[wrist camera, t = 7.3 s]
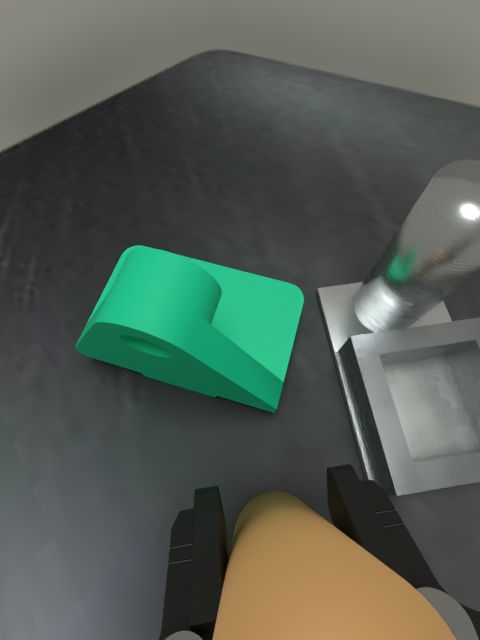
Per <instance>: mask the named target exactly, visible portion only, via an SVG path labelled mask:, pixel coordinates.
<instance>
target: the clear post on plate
mask: <svg viewBox="0 0 480 640" xmlns="http://www.w3.org/2000/svg"><path fill="white" fill-rule="evenodd" d="M479 271H480V161H479V160H461V161H456V162H453V163H450V164H448V165H446V166H444V167H442V168H441V169H440V170H439V171H438V172H437V173H436V174H435V175H434V177H433V178H432V180H431V181H430V183H429V184H428V186H427V187H426V189H425V190H424V192H423V193H422V195H421V196H420V198H419V199H418V201H417V202H416V204H415V205H414V207H413V208H412V210H411V211H410V213H409V214H408V216H407V217H406V219H405V220H404V222H403V223H402V225H401V226H400V228H399V229H398V231H397V232H396V234H395V235H394V237H393V238H392V240H391V241H390V243H389V244H388V246H387V247H386V249H385V250H384V252H383V253H382V255H381V256H380V258H379V259H378V261H377V262H376V264H375V265H374V266H373V268H372V269H371V271H370V272H369V274H368V275H367V277H366V278H365V280H364V281H363V282H360V283H353V284H346V285H338V286H331V287H323V288H318V289H317V291H316V295H317V299H318V302H319V306H320V310H321V314H322V318H323V321H324V325H325V329H326V333H327V337H328V340H329V344H330V348H331V352H332V356H333V359H334V363H335V367H336V371H337V375H338V378H339V382H340V386H341V390H342V394H343V397H344V401H345V405H346V409H347V413H348V416H349V420H350V424H351V428H352V432H353V435H354V439H355V443H356V447H357V451H358V454H359V458H360V462H361V466H362V470H363V473H364V477H365V480H370V479H372V480H373V481H374V482H375V483H376V484H377V485H378V486H379V487H381V488H382V489H383V490H384V491H385V492H386V493H387V494H391V495H395V496H399V495H405V494H411V493H417V492H423V491H428V490H434V489H440V488H446V487H452V486H458V485H464V484H470V483H476V482H480V318H474V319H467V320H460V321H453V322H452V321H451V318H450V316H449V313H448V311H447V309H446V306H445V304H444V302H443V300H444V299H445V298H446V297H448V296H449V295H450V294H451V293H453V292H454V291H455V290H456V289H458V288H459V287H460V286H461V285H463V284H464V283H465V282H466V281H467V280H469V279H470V278H471V277H472V276H474V275H475V274H476V273H477V272H479Z"/></svg>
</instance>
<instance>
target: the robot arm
mask: <svg viewBox="0 0 480 640" xmlns="http://www.w3.org/2000/svg"><path fill="white" fill-rule="evenodd" d="M327 490H328V505H329V511H330V515H331V518H332V521H333V524H334V526H335V527H336V528H337V529H339V530H340V531H341V532H342V533H344V534H345V535H346V536H348V537H349V538H350V539H352V540H353V541H354V542H356V543H357V544H358V545H360V546H361V547H362V548H364V549H365V550H366V551H368V552H369V553H370V554H372V555H373V556H374V557H375V558H377V559H378V560H379V561H381V562H382V563H383V564H385V565H386V566H387V567H389V568H390V569H391V570H393V571H394V572H395V573H397V574H398V575H399V576H401V577H402V578H403V579H405V580H406V581H407V582H408V583H409V584H410V585H412V586H413V587H414V588H415V589H416V590H417V591H418V592H420V593H421V594H422V595H423V596H424V597H425V599H426V600H427V601H428V602H429V603H430V604H431V605H432V606H433V607H434V608H435V609H436V611H437V612H438V613H439V615H440V616H441V618H442V619H443V620H444V622H445V623H446V624H447V626H448V627H449V628H450V630H451V632H452V633H453V635H454V637H455V638H456V640H480V612H478V611H475V610H472V609H470V608H468V607H466V606H464V605H462V604H460V603H459V602H457V601H456V600H455V599H453V598H452V597H451V596H450V595H449V594H448V593H447V592H446V591H445V590H444V589H443V588H442V587H441V586H440V585H439V583H438V582H437V580H436V579H435V577H434V575H433V573H432V572H431V570H430V568H429V567H428V565H427V563H426V561H425V560H424V558H423V556H422V554H421V553H420V551H419V549H418V547H417V546H416V544H415V542H414V540H413V539H412V537H411V535H410V533H409V532H408V530H407V528H406V527H405V525H404V524H403V521H402V520H401V518H400V516H399V514H398V513H397V512H396V510H395V507H394V506H393V504H392V502H391V500H390V499H389V497H388V495H387V493H386V492H385V491H384V490H383V489H382V488H381V487H379V486H378V485H377V484H376V483H375V482H374V481H373V480H372V479H370V480H364V481H360V480H359V478H358V476H357V474H356V472H355V470H354V469H353V467H352V466H351V465H350V464H348V465H342V466H336V467H330V468H327ZM168 562H169V566H168V571H167V581H166V591H165V601H164V611H163V621H162V629H161V635H160V638H159V640H212V639H213V634H214V629H215V624H216V619H217V614H218V609H219V604H220V599H221V594H222V589H223V584H224V579H225V574H226V569H227V564H228V545H227V532H226V523H225V517H224V512H223V507H222V502H221V497H220V492H219V487H218V486H213V487H207V488H201V489H196V490H195V498H194V509H189V510H183V511H180V512H179V514H178V516H177V518H176V520H175V522H174V525H173V527H172V531H171V541H170V551H169V561H168Z"/></svg>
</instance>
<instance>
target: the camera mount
mask: <svg viewBox="0 0 480 640" xmlns="http://www.w3.org/2000/svg"><path fill="white" fill-rule="evenodd" d="M303 303H304V297H303V294H302V292H301V290H300V289H299V288H298V287H297V286H295V285H293V284H290V283H286V282H282V281H279V280H275V279H271V278H267V277H263V276H259V275H255V274H251V273H247V272H243V271H239V270H235V269H232V268H228V267H224V266H220V265H216V264H212V263H208V262H204V261H200V260H196V259H192V258H188V257H185V256H181V255H177V254H173V253H170V252H167V251H163V250H158V249H153V248H149V247H145V246H139V245H138V246H133V247H130V248H128V249H127V250H126V251H124V253H123V254H122V256H121V258H120V260H119V261H118V263H117V265H116V267H115V269H114V271H113V273H112V275H111V277H110V279H109V281H108V283H107V285H106V287H105V289H104V291H103V293H102V295H101V297H100V299H99V301H98V303H97V305H96V307H95V309H94V311H93V313H92V315H91V317H90V319H89V321H88V323H87V325H86V326H85V328H84V330H83V332H82V334H81V336H80V338H79V340H78V342H77V344H76V346H75V348H74V349H76V350H77V351H79V352H80V353H82V354H83V355H85V356H87V357H91V358H94V359H97V360H100V361H104V362H107V363H110V364H114V365H117V366H120V367H124V368H127V369H130V370H134V371H137V372H140V373H142V374H143V375H144V376H146V377H149V378H152V379H156V380H159V381H162V382H166V383H169V384H172V385H175V386H179V387H182V388H185V389H189V390H192V391H195V392H199V393H202V394H205V395H208V396H212V397H215V398H216V396H220V397H223V398H226V399H229V400H233V401H236V402H239V403H243V404H246V405H249V406H253V407H256V408H259V409H263V410H266V411H269V412H272V413H275V411H276V410H277V406H278V402H279V399H280V395H281V391H282V387H283V383H284V379H285V375H286V371H287V367H288V363H289V359H290V355H291V351H292V347H293V343H294V339H295V335H296V331H297V327H298V323H299V319H300V315H301V311H302V307H303ZM211 323H212V324H211Z"/></svg>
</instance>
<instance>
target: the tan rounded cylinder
mask: <svg viewBox="0 0 480 640" xmlns="http://www.w3.org/2000/svg"><path fill="white" fill-rule="evenodd" d="M212 640H456V638H455V637H454V635H453V633H452V632H451V630H450V628H449V627H448V626H447V624H446V623H445V622H444V620H443V619H442V618H441V616H440V615H439V613H438V612H437V611H436V609H435V608H434V607H433V606H432V605H431V604H430V603H429V602H428V601H427V600H426V599H425V597H424V596H423V595H422V594H421V593H420V592H418V591H417V590H416V589H415V588H414V587H413V586H412V585H410V584H409V583H408V582H407V581H406V580H405V579H403V578H402V577H401V576H399V575H398V574H397V573H395V572H394V571H393V570H391V569H390V568H389V567H387V566H386V565H385V564H383V563H382V562H381V561H379V560H378V559H377V558H375V557H374V556H373V555H372V554H370V553H369V552H368V551H366V550H365V549H364V548H362V547H361V546H360V545H358V544H357V543H356V542H354V541H353V540H352V539H350V538H349V537H348V536H346V535H345V534H344V533H342V532H341V531H340V530H339V529H337V528H336V527H335V526H333V525H332V524H331V523H329V522H328V521H327V520H325V519H324V518H323V517H321V516H320V515H319V514H317V513H316V512H315V511H313V510H312V509H311V508H309V507H308V506H307V505H306V504H304V503H303V502H302V501H300V500H299V499H297V498H296V497H295V496H293V495H291V494H288V493H286V492H281V491H267V492H263V493H261V494H258V495H257V496H255V497H253V498H252V499H251V500H250V501H249V502H248V503H247V504H246V505H245V506H244V507H243V509H242V510H241V512H240V514H239V516H238V518H237V521H236V525H235V529H234V534H233V539H232V544H231V549H230V554H229V559H228V564H227V569H226V574H225V579H224V584H223V589H222V594H221V599H220V604H219V609H218V614H217V619H216V624H215V629H214V634H213V639H212Z"/></svg>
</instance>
